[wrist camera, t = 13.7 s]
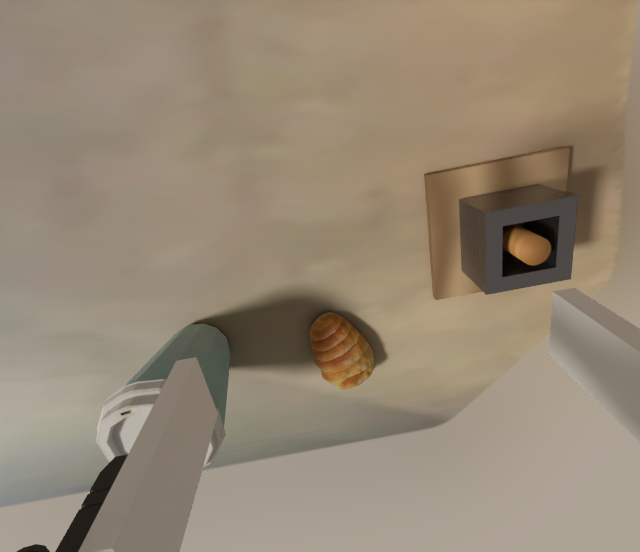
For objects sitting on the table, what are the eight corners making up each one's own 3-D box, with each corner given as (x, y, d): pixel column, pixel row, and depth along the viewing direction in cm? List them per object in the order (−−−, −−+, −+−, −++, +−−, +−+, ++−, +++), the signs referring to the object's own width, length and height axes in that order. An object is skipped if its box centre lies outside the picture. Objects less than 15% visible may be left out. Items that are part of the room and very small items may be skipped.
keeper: (433, 296, 43) (460, 332, 36) (424, 174, 38) (454, 187, 30) (554, 273, 43) (606, 306, 35) (563, 146, 37) (627, 154, 30)
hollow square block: (461, 270, 41) (486, 294, 35) (458, 199, 38) (485, 213, 32) (534, 257, 41) (570, 278, 35) (537, 183, 38) (578, 195, 32)
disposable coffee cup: (260, 365, 46) (242, 472, 32) (182, 393, 47) (132, 508, 33) (220, 293, 42) (180, 381, 28) (135, 325, 43) (57, 424, 29)
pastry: (294, 324, 44) (294, 342, 41) (345, 299, 43) (349, 315, 40) (330, 380, 48) (333, 401, 44) (378, 358, 47) (385, 377, 43)
